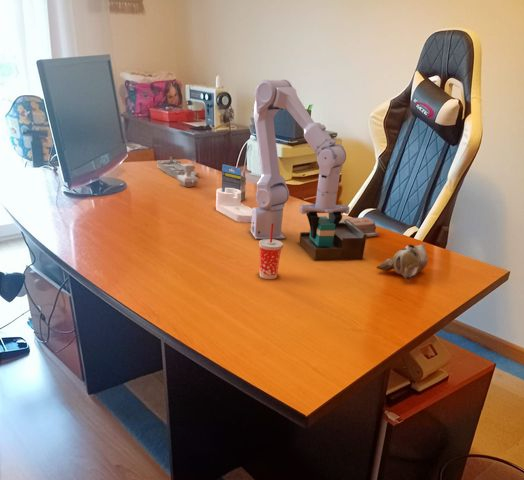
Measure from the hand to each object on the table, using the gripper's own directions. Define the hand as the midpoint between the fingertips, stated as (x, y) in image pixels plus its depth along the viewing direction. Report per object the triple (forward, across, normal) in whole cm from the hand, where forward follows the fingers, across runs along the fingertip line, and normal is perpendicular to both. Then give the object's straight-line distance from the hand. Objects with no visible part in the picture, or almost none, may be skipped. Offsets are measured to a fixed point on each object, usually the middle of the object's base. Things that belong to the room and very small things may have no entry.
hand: (321, 237), depth 154 cm
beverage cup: (+5, -20, -17) cm, 27 cm away
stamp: (+4, -30, +77) cm, 83 cm away
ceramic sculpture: (+5, +18, -19) cm, 27 cm away
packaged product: (+5, +16, +15) cm, 22 cm away
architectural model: (+4, -31, +100) cm, 105 cm away
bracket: (+4, -18, +38) cm, 42 cm away
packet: (+1, 0, 0) cm, 1 cm away
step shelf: (+4, +4, 0) cm, 6 cm away
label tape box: (+4, -14, +58) cm, 60 cm away
